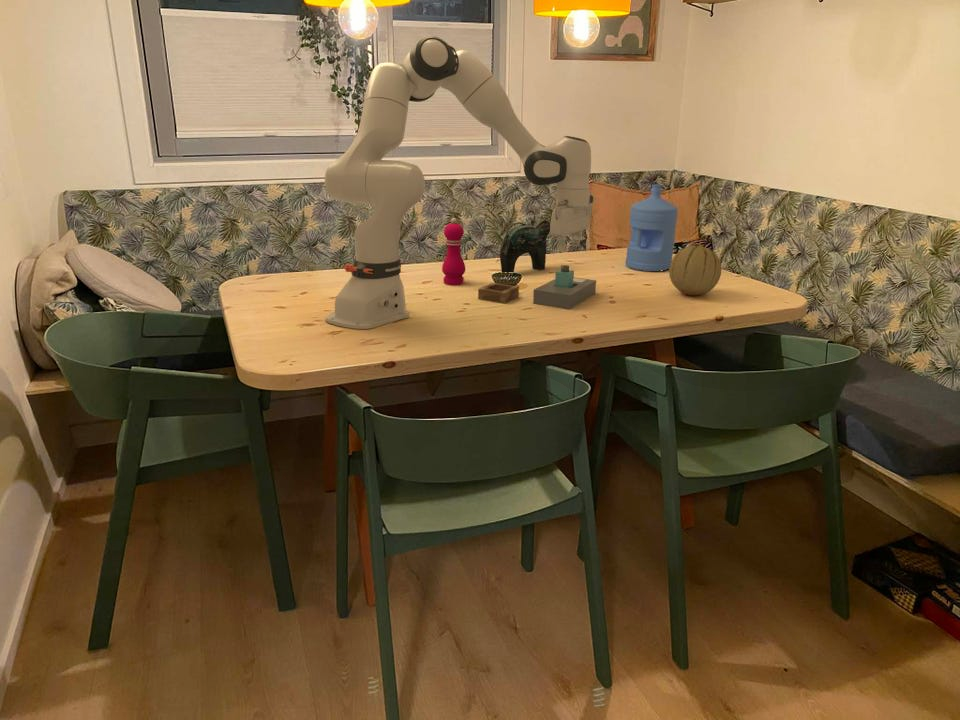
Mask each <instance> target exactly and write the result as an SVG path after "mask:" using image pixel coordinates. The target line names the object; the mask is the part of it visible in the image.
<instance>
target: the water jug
mask: <svg viewBox="0 0 960 720" xmlns="http://www.w3.org/2000/svg"><path fill="white" fill-rule="evenodd" d="M661 188H662V184H659V183H658V184H657V183H655V184H654V183H652V184H651V189H650V191H651V192H650V195H649V197H648V198H645V199H642V200H641V201H638V202H636V203H633V204H632V205H631V206H630V207H631V208H630V211H629V212H630V213H629V226H630V228H631V232H630V241H629V244H628V245H627V247H626V248H627V250H626V257H625V266H626V267H627V268H629V269H631V268H632V269H631V270H634V269H636V270H635V271H639V270H643V271H642V272H647V271H661V270H667V269H669V270H670V265H671V262H672V259H673V254H674V253H673V252H674V245H675V239H676V235H675V234H676V226H677V220H678V207H677V206H676V205H674V204H672V203H671V202H668V201H667V200H665V199H663V198H662V197H661V192H662V189H661ZM667 271H668V270H667ZM661 272H662V271H661Z"/></svg>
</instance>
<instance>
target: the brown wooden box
mask: <svg viewBox="0 0 960 720" xmlns="http://www.w3.org/2000/svg"><path fill="white" fill-rule="evenodd" d="M477 290H478V291H477V293H478V294H477V295H478V297H477V299H478V300H482V301H487V302H488V301H489V302H495V303H501V304H506V303H508V302H511V301H513V300H515V299H517V298H519V297H520V296H519V293H520V291H519V290H520V286H516V285H511V284H504V283H497V282H491V283H489V284H486V285H484V286H481V287H479V288H478V289H477Z"/></svg>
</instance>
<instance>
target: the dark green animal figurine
mask: <svg viewBox="0 0 960 720" xmlns="http://www.w3.org/2000/svg"><path fill="white" fill-rule="evenodd" d="M529 213H532V214H533V218H531V217H530V218H528V219H529V220H530V222H529V224H526V223H523V222H515V223H513V224H511V225H509V226H508V227H507V230H506V233H505V235H504V237H503V240H502V242H501V245H500V248H499V249H500V250H499V261H500V268H501V269H500V271H501V273H502V272H514V273H515V268H516V263H517V260H518V259H519V257H520V256H522V255H524V254H529V257H530V259H531V266H532V270H536V271H541V270H546V260H547V259H546V257H547V238H548V236H549V234H550V225H551V222H550V221H548V220H547V219H545V217H544V215H542V214H541V215H540V217H539V218H536V213H535V212H534V210H528V211H527V212H526V213H525V216H528V215H529ZM515 225H518V226H515ZM513 226H514V227H513Z"/></svg>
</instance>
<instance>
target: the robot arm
mask: <svg viewBox="0 0 960 720" xmlns="http://www.w3.org/2000/svg"><path fill="white" fill-rule="evenodd" d="M439 88H442V89H444V90H446V91H449V92H450V93H451V94H453V96H455V98H456V99H457V100H458V102H459V103H460V104H461V105H462V106H463V108H464V109H465V110H466V111H467V112H468V113H469V114H470V115H471V116H472V117H473V118H474V119H476V120H477V121H478V122H479V123H481V124H482V125H484V126H486V127H489V129H492V130H493V131H495V132H496V133H498V134H499V135H500V136H501V137H502V138H503V139H504V140H505V142H507V144H508V145H509V146H510V147H511V149H512V150H513V152H515V153H516V155H518V157H519V159H520V161H521V163H522V165H523V172H524V175H525V177H526V179H527V180H528V182H530V183H531V184H533V185H535V186H539V187H543V186H548V185H552V184H556V194H555V195H556V199H555V204H556V206H555V207H554V208H553V210H552V213H551V218H550V219H551V220H550V233H549V234H550V236H551V237H554V238H555V237H556V241H557V245H558V247H557V248H558V249H557V250H558V252H560V253H564V252H566V251H567V246H568V245H567V244H566V240H567V236H570V235H573V239H572V240H571V247H574V248H577V247H580V246H581V245H580V244H581V238H582V236H583V231H585V230H588V229H589V227H590V224H591V220H592V219H591V218H592V210H593V209H592V208H593V207H592V204H594V202H595V196H594V195H593V194H592V193H590V183H589V178H590V174H591V172H592V171H591V170H592V168H591V167H592V149H591V144H590V143H589V142H588V141H587V140H585V139H583V138H580V137H576V136H570V135H564V136H562V137H561V138H560V139H558V140H557V141H555V142H553V143H551V144H549V145H547V146H545V145H543V144H541V143H540V142H538V141H537V140H536V139H535V138H534V136H532V134H531V133H530V132H529V131H528V130H527V128H526V127H525V126H524V124H522V122H521V120H520V119H519V117H517V114H516V113H515V111H514V109H513V106H512V104H511V100H510V98H509V96H508V95H507V92H506V91H505V89H504V87H503V86H502V85H501V83H500V82H499V80H498V79H497V78H496V76H495V75H494V74H493V72H492V71H491V70H490V69H489V68H488V67H487V66H486V65H485V64H484V63H483V62H482V61H481V60H480V59H479V58H477V56H476V55H474V54H473V53H472V52H470V51H469V50H466V49H458V50H456V49H455V48H454V47H453V46H451V45H449V44H448V43H447V42H446V41H445V40H443V39H442V38H440V37H439V36H438V37H437V36H436V35H435V36H434V35H424V36H422V37H421V38H418V39H417V40H416V42H414V44H413V45H412V46H411V49H410V50H409V52H408V53H407V54H406V55H405V58H403V61H402V63H399V64H397V63H394V62H387V61H385V62H381V63H379V64H377V65H376V66H375V67H374V68H373V69H372V71H371V74H370V76H369V80H368V84H367V86H366V91H365V95H364V100H363V106H362V112H361V117H360V122H359V126H358V130H357V133H356V136H355V138H354V140H353V142H352V143H351V145H350V146H349V147H348V149H346V151H345V152H344V153H343V154H342V155H340V157H338V158H336V159H335V160H334V161H332V162H331V163H330V164H329V165H328V167H326V168H327V169H326V170H325V172H324V186H325V189H326V191H327V194H329V196H330V197H331V198H332V199H333V200H336V201H340V202H343V203H347V204H349V205H350V204H351V205H352V204H354V205H367V206H368V205H371V206H373V207H374V209H373V214H372V216H371V217H369V218H367V219H366V220H363V221H362V222H361V223H359V224H358V225H357V226H356V228H355V231H354V249H355V252H354V254H355V259H354V260H353V264H350V263H346V264H345V265H344V271H345V272H346V273H351V277H350V278H349V279H348V280H347V282H345V284H344V285H343V287H342V289H340V291H339V292H338V294H336V296H335V298H334V299H335V300H334V301H335V302H334V312H332V313H330V314H328V315H326V316H325V322H327V323H329V324H331V325H334V326H338V327H343V328H348V329H357V330H358V329H361V330H366V329H367V330H369V329H371V328H372V329H373V328H375V327H378V326H379V327H380V326H382V325H386V324H389V323H393V322H395V321H400V320H403V319H406V318H409V317H410V312H409V311H408V310H407V304H406V295H405V289H404V284H403V281H402V280H401V277H400V274H401V273H402V269H401V267H402V264H401V259H400V257H399V255H400V253H399V245H400V241H399V240H400V231H401V225H402V222H403V220H404V217H406V214H407V213H408V212H409V211H410V209H411V208H412V207H413V206H415V205H416V204H417V203H419V202H420V200H421V199H422V198H423V195H424V193H425V189H426V179H425V176H424V173H423V171H422V170H421V168H420V167H419V166H418V165H416V164H413V163H410V162H406V161H403V160H402V161H401V160H392V159H391V160H388V159H383V158H384V157H385V156H386V155H387V154H388V153H390V152H392V151H394V150H395V149H397V148H399V146H400V145H401V144H402V142H403V141H404V138H405V132H406V124H407V118H408V110H409V103H410V102H415V103H420V102H425V101H428V100H429V99H430V98H432V97H433V96H434V95H435V93H436V91H438V89H439Z"/></svg>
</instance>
